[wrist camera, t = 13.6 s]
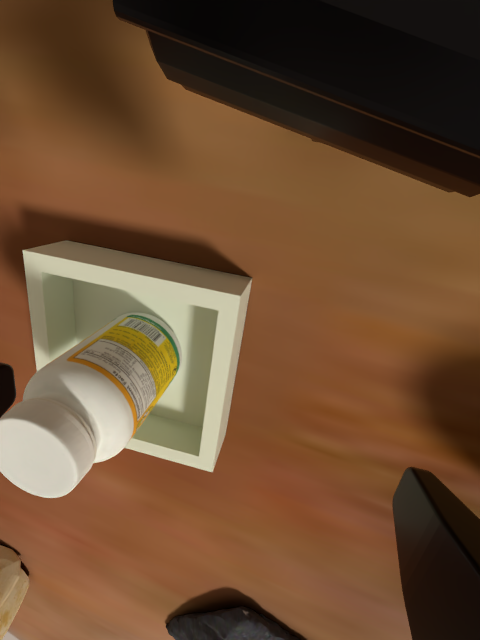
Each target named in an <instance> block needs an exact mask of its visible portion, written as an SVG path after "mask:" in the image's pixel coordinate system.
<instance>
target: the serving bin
mask: <svg viewBox="0 0 480 640" xmlns="http://www.w3.org/2000/svg"><path fill="white" fill-rule="evenodd" d="M23 258H24V266H25V275H26V283H27V292H28V300H29V309H30V317H31V326H32V334H33V342H34V351H35V359H36V368H37V372H38V371H39V370H40V369H41V368H43V367H44V366H46V365H47V364H49V363H50V362H52V361H53V360H55V359H56V358H58V357H59V356H61V355H62V354H64V353H65V352H67V351H68V350H70V349H71V348H73V347H74V346H76V345H77V344H79V343H80V342H81V341H83V340H84V339H86V338H87V337H89V336H90V335H92V334H93V333H95V332H96V331H98V330H99V329H101V328H102V327H104V326H105V325H107V324H108V323H110V322H111V321H113V320H114V319H116V318H117V317H119V316H121V315H124V314H127V313H145V314H149V315H152V316H154V317H156V318H158V319H160V320H161V321H163V322H164V323H165V324H166V325H167V326H168V327H169V328H170V329H171V330H172V331H173V332H174V334H175V335H176V337H177V339H178V341H179V344H180V347H181V351H182V363H181V366H180V369H179V371H178V373H177V374H176V376H175V377H174V379H173V381H172V382H171V384H170V385H169V386H168V388H167V389H166V390H165V392H164V393H163V395H162V396H161V398H160V399H159V400H158V402H157V403H156V405H155V406H154V407H153V409H152V410H151V412H150V413H149V414H148V416H147V417H146V419H145V420H144V422H143V423H142V424H141V426H140V427H139V429H138V430H137V431H136V433H135V434H134V435H133V437H132V438H131V440H130V441H129V442H128V444H127V445H126V446H125V447H124V448H128V449H131V450H135V451H138V452H142V453H146V454H149V455H153V456H156V457H160V458H163V459H167V460H170V461H174V462H177V463H181V464H185V465H188V466H192V467H195V468H199V469H202V470H206V471H209V472H213V469H214V466H215V464H216V461H217V458H218V455H219V452H220V449H221V446H222V443H223V440H224V437H225V434H226V428H227V423H228V417H229V411H230V405H231V399H232V393H233V388H234V382H235V376H236V370H237V364H238V358H239V353H240V347H241V341H242V335H243V329H244V323H245V318H246V312H247V306H248V300H249V294H250V288H251V283H252V278H250V277H245V276H240V275H235V274H230V273H225V272H221V271H216V270H211V269H206V268H201V267H196V266H191V265H186V264H181V263H176V262H171V261H166V260H161V259H157V258H152V257H147V256H142V255H137V254H132V253H127V252H122V251H117V250H112V249H107V248H102V247H98V246H93V245H88V244H83V243H78V242H73V241H68V240H66V241H61V242H57V243H52V244H48V245H43V246H39V247H34V248H30V249H25V250H23Z"/></svg>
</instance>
